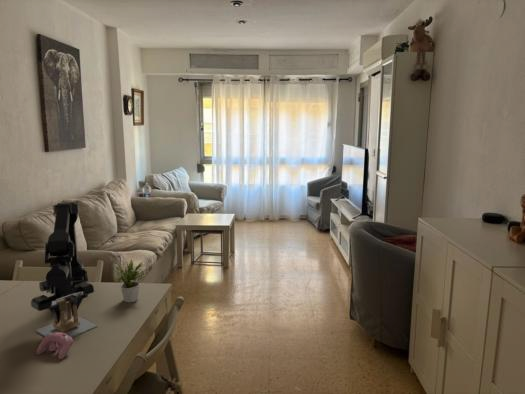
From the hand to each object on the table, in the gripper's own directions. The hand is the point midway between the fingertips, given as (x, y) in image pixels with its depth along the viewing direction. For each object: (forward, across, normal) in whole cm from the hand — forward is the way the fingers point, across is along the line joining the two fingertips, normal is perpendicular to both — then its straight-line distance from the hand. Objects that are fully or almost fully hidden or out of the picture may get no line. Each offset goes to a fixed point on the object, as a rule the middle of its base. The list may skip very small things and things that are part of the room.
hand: (66, 319), depth 135 cm
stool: (+2, 0, 0) cm, 2 cm away
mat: (+4, 0, 0) cm, 4 cm away
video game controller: (+4, +10, +12) cm, 16 cm away
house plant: (+4, -28, -1) cm, 28 cm away
